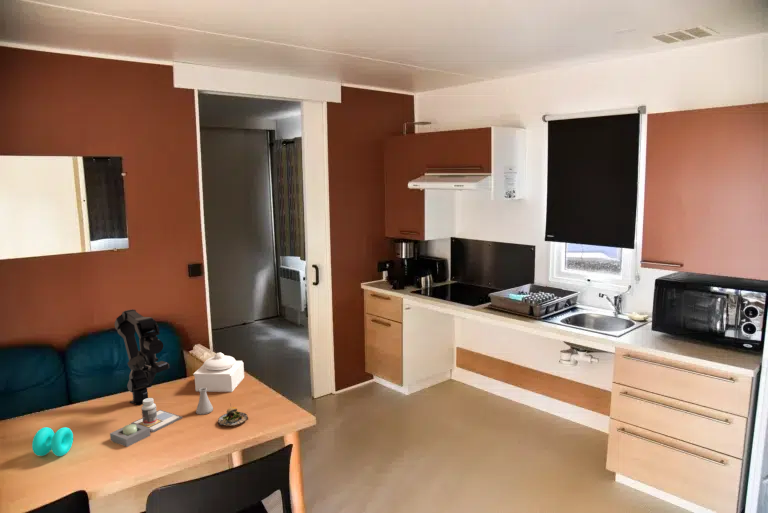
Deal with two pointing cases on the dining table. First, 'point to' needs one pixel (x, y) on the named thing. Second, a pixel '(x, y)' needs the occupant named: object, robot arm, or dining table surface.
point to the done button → (129, 429)
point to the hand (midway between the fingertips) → (150, 383)
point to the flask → (204, 403)
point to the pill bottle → (149, 411)
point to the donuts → (52, 441)
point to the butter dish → (219, 374)
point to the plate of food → (232, 417)
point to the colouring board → (160, 420)
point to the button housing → (131, 439)
